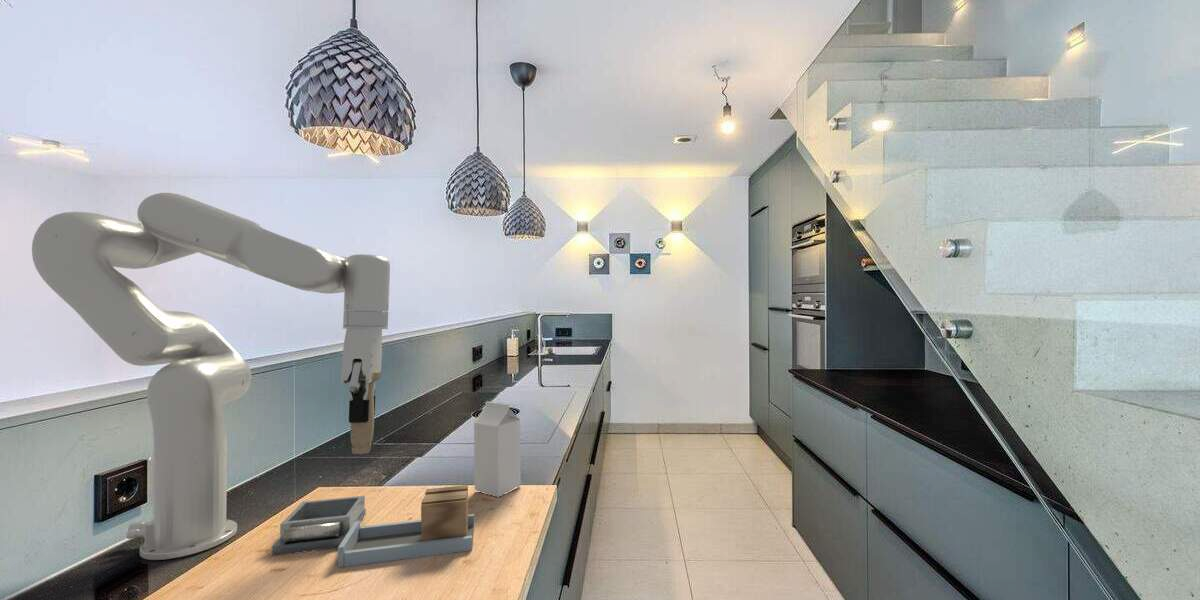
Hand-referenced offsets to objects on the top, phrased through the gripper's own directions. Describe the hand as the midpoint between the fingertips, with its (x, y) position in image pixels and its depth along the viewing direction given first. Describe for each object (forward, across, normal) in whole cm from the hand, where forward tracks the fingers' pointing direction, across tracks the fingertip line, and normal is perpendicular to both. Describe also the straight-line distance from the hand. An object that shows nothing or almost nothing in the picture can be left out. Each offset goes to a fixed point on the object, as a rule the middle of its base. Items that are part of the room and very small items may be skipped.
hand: (362, 418), depth 86 cm
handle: (+6, 0, 0) cm, 6 cm away
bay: (+19, +10, +11) cm, 25 cm away
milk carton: (+19, -10, +26) cm, 33 cm away
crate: (+19, +10, +16) cm, 27 cm away
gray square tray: (+20, +2, -5) cm, 21 cm away
